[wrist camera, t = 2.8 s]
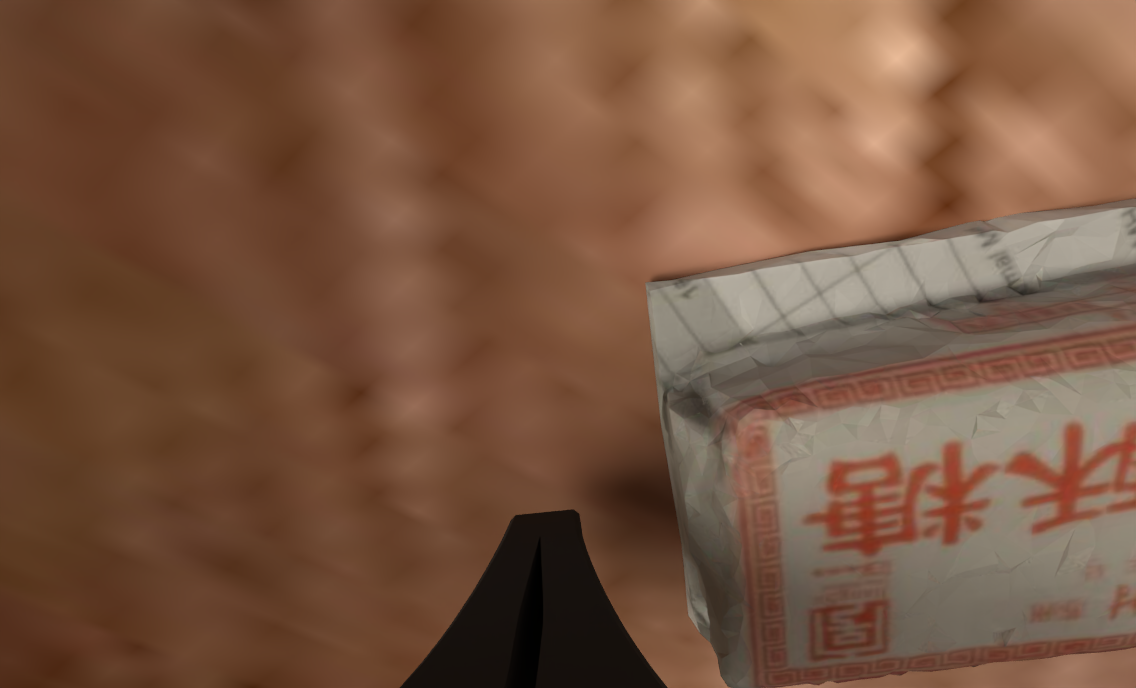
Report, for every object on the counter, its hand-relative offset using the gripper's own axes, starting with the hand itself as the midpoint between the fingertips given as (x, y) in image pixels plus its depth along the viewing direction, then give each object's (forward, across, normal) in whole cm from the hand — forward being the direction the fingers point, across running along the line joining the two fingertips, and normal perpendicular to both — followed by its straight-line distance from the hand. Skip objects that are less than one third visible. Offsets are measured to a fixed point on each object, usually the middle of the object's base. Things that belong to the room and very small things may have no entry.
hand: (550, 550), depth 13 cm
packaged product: (+3, -12, 0) cm, 12 cm away
